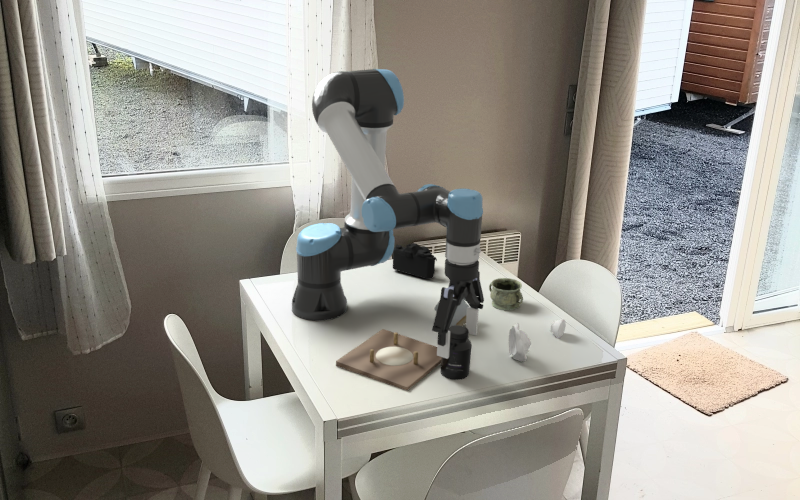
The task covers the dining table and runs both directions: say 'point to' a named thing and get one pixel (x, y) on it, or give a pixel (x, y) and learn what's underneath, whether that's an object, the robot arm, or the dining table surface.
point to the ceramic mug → (458, 313)
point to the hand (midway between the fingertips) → (457, 344)
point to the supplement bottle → (457, 354)
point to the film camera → (414, 260)
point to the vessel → (506, 293)
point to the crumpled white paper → (518, 343)
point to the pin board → (392, 359)
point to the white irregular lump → (558, 327)
